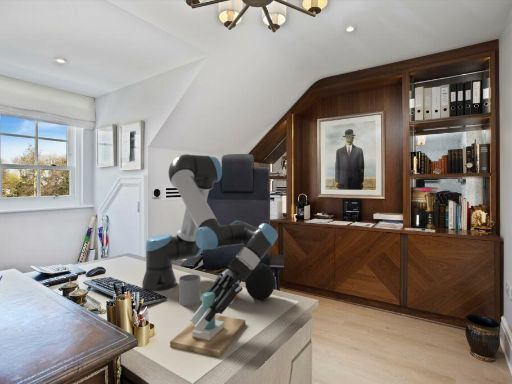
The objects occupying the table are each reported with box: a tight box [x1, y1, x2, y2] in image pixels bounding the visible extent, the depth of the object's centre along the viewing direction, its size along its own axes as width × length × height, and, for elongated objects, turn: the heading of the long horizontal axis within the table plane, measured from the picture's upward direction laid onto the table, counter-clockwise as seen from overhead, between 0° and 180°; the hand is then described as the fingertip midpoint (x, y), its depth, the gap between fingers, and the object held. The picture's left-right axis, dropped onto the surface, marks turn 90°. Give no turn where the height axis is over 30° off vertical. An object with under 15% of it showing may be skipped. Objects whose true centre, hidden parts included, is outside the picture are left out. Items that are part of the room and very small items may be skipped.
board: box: [169, 314, 246, 358], centre depth 92 cm, size 16×20×2 cm
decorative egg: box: [244, 262, 276, 301], centre depth 120 cm, size 12×12×15 cm
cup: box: [178, 273, 202, 307], centre depth 117 cm, size 8×8×10 cm
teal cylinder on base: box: [192, 291, 224, 342], centre depth 90 cm, size 6×9×12 cm, turn 158°
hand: (195, 325), depth 88 cm, fingers closed on teal cylinder on base, 4 cm apart
